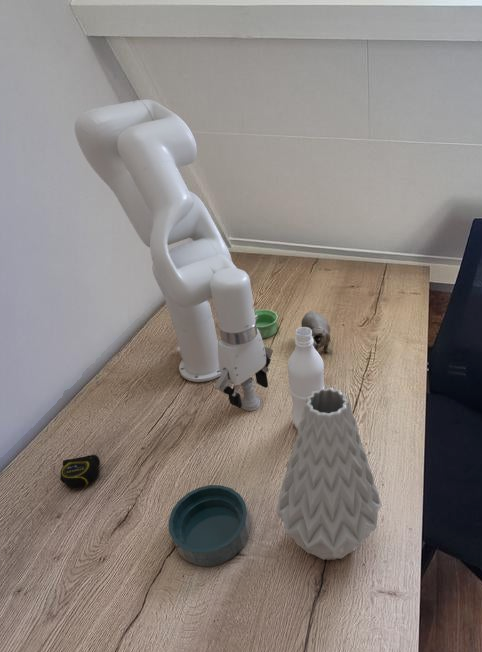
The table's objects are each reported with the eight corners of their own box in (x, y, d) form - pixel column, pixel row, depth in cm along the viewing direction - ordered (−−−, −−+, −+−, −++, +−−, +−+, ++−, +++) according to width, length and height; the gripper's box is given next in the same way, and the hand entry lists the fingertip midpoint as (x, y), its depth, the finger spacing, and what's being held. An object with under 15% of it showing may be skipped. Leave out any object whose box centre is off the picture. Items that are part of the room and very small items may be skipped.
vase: (263, 531, 81) (236, 395, 59) (333, 483, 88) (333, 346, 66) (321, 604, 71) (316, 475, 49) (396, 544, 78) (421, 406, 56)
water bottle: (322, 439, 97) (319, 344, 80) (289, 435, 98) (280, 341, 81) (327, 416, 102) (326, 322, 85) (296, 412, 103) (288, 319, 86)
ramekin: (285, 327, 129) (283, 314, 126) (266, 343, 124) (264, 330, 121) (259, 319, 133) (258, 306, 130) (240, 334, 127) (238, 321, 124)
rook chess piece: (253, 414, 103) (248, 388, 98) (237, 407, 105) (232, 381, 100) (264, 402, 106) (260, 376, 101) (249, 396, 108) (244, 370, 103)
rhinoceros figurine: (332, 320, 126) (327, 298, 111) (334, 368, 123) (329, 351, 108) (305, 322, 127) (296, 300, 112) (306, 369, 124) (297, 353, 110)
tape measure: (103, 462, 95) (96, 450, 92) (98, 488, 90) (91, 477, 87) (69, 468, 94) (62, 456, 92) (62, 494, 89) (54, 483, 87)
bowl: (160, 537, 81) (152, 522, 78) (215, 489, 89) (211, 473, 85) (209, 583, 75) (203, 568, 71) (265, 526, 82) (262, 510, 79)
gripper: (255, 306, 98) (264, 369, 110) (193, 344, 89) (210, 409, 100) (280, 317, 94) (287, 381, 106) (218, 358, 85) (233, 423, 97)
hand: (249, 394), depth 103 cm, fingers open, 7 cm apart
